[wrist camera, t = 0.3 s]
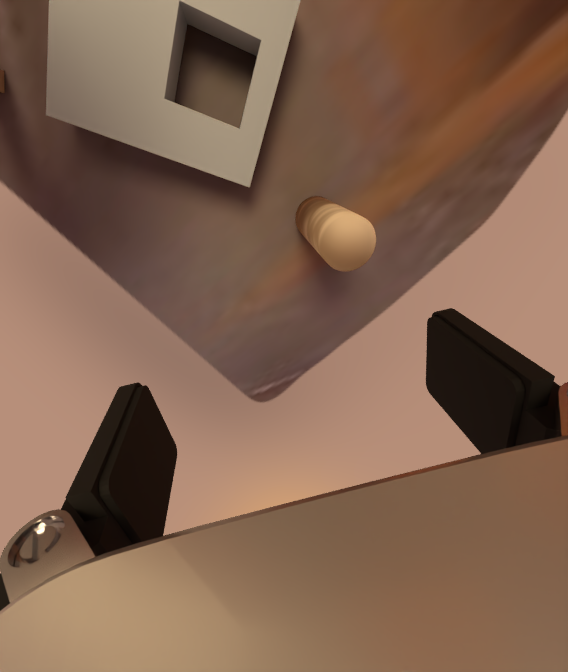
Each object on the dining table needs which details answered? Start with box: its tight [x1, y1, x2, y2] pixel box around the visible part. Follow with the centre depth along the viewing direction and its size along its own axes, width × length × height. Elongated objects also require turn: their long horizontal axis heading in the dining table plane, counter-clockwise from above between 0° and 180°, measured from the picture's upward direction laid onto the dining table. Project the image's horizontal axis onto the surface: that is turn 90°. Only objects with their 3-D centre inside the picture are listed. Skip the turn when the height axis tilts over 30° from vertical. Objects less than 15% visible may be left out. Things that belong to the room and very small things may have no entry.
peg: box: [295, 196, 376, 271], centre depth 32 cm, size 4×4×12 cm
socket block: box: [46, 0, 300, 188], centre depth 27 cm, size 14×16×5 cm
